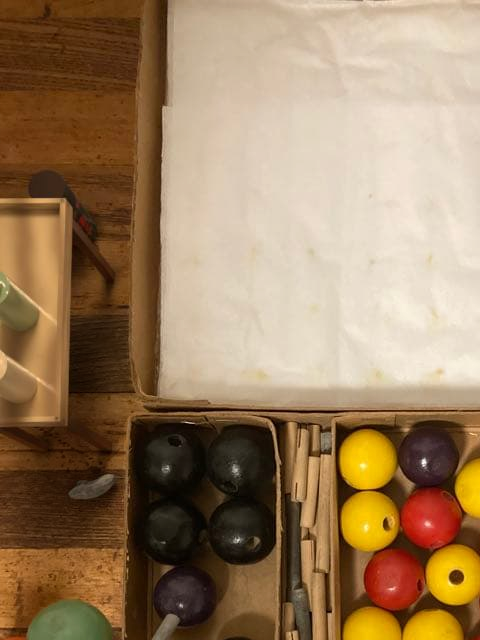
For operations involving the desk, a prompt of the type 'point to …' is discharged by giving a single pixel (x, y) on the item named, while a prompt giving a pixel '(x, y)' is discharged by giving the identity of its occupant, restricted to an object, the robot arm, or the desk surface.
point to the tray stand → (43, 312)
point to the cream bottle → (15, 381)
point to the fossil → (92, 487)
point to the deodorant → (56, 187)
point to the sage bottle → (16, 306)
